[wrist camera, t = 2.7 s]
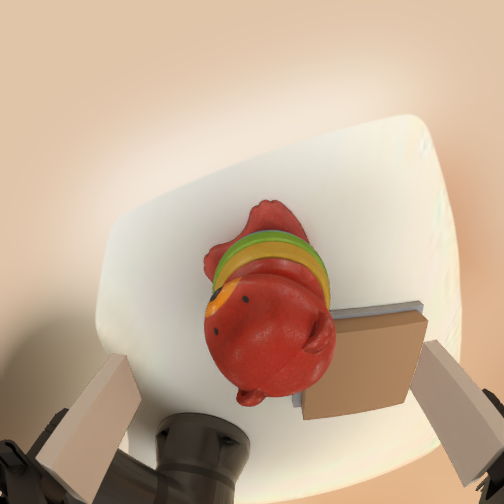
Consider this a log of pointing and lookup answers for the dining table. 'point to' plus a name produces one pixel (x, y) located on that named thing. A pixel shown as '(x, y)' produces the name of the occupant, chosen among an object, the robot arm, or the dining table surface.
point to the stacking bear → (269, 308)
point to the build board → (367, 361)
